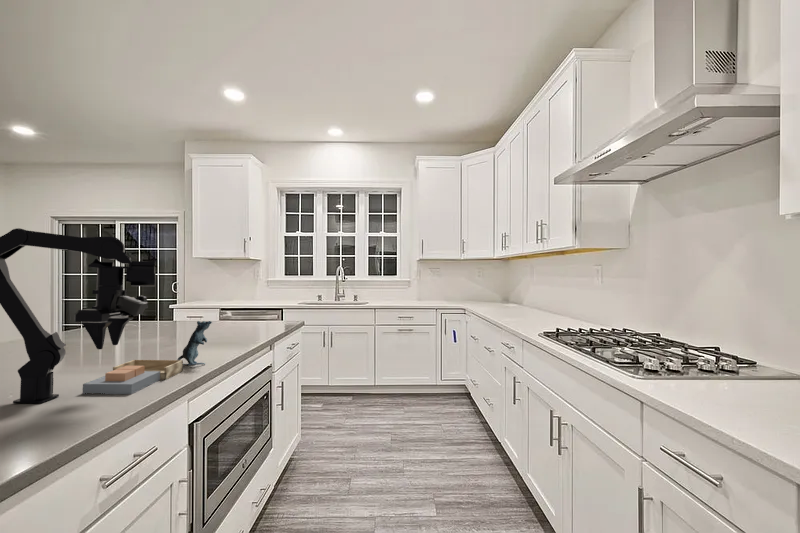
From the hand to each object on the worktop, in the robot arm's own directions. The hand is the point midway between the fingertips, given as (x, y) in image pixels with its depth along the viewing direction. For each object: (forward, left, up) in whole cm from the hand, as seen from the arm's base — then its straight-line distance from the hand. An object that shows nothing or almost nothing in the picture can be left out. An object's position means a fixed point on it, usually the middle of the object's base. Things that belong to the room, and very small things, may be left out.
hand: (107, 347), depth 116 cm
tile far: (+12, 0, -10) cm, 15 cm away
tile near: (+6, 0, -10) cm, 11 cm away
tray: (+23, 0, -12) cm, 26 cm away
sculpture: (+39, -7, -12) cm, 42 cm away
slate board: (+8, 0, -12) cm, 15 cm away
